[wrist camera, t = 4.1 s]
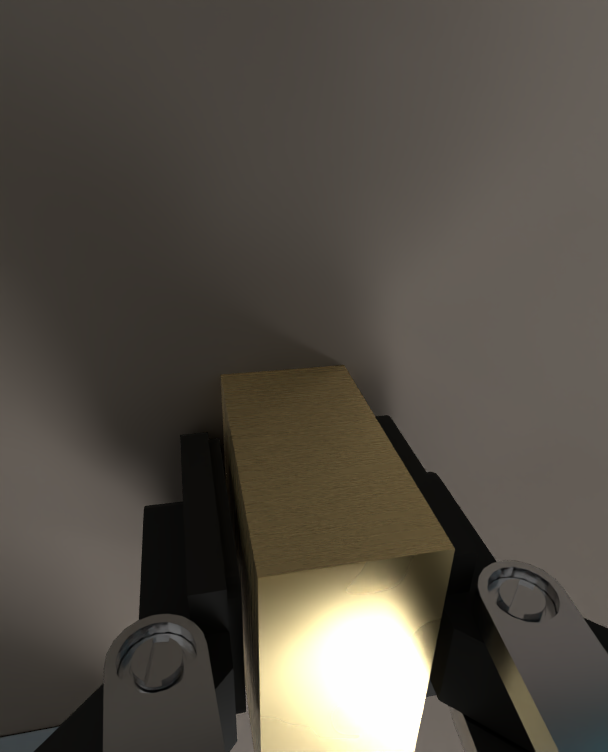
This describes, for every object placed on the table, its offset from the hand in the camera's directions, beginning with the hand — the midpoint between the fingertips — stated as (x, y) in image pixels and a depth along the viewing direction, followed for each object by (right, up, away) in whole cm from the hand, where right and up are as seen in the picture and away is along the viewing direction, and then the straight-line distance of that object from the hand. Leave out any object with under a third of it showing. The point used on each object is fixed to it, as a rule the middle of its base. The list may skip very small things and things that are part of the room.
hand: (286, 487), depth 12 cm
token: (0, 0, 0) cm, 0 cm away
